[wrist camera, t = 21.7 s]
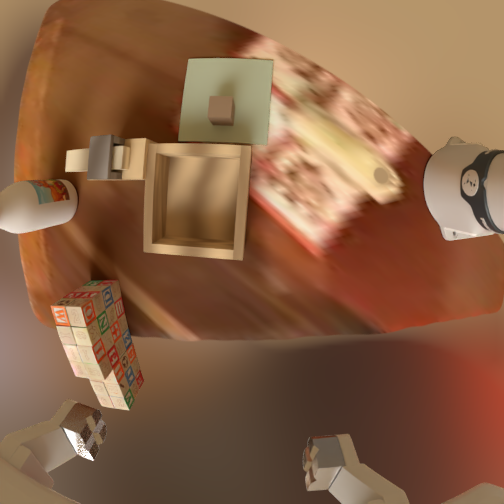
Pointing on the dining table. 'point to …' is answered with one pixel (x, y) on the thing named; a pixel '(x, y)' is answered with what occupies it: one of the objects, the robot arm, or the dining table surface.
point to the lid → (226, 101)
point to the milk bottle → (37, 205)
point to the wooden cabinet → (184, 193)
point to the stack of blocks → (100, 341)
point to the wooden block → (79, 158)
